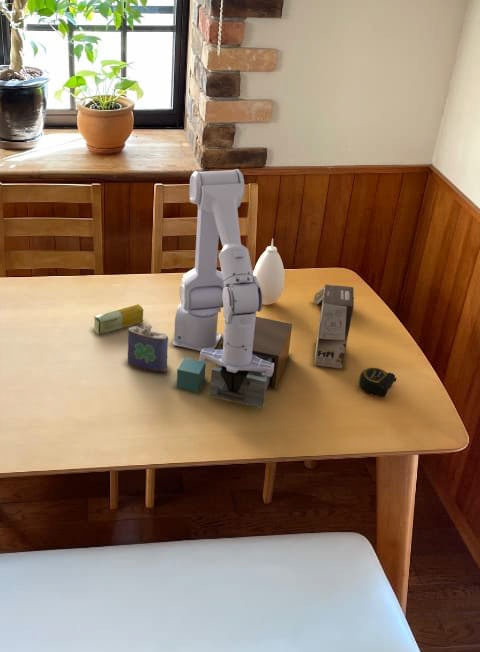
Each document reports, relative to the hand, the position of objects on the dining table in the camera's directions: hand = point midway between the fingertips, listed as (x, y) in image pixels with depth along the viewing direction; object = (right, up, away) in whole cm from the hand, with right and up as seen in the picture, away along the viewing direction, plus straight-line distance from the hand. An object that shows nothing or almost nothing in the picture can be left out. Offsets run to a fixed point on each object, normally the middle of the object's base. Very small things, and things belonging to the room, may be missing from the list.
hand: (233, 396), depth 161 cm
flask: (-18, +5, +16) cm, 24 cm away
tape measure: (+32, +1, +10) cm, 33 cm away
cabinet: (+6, +6, +17) cm, 19 cm away
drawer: (+2, 0, +7) cm, 7 cm away
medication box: (-25, +15, +29) cm, 41 cm away
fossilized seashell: (+28, +20, +39) cm, 52 cm away
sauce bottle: (+12, +21, +40) cm, 47 cm away
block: (-8, +2, +11) cm, 14 cm away
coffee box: (+23, +8, +21) cm, 32 cm away
